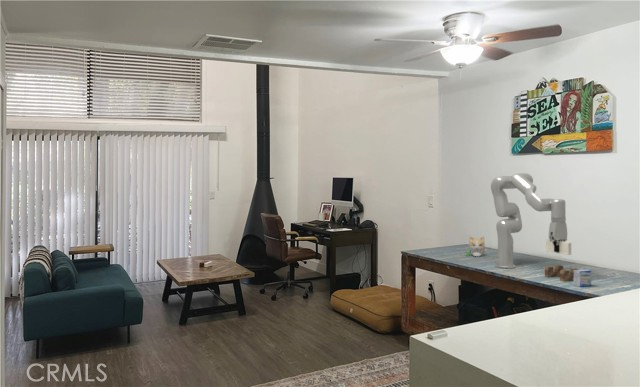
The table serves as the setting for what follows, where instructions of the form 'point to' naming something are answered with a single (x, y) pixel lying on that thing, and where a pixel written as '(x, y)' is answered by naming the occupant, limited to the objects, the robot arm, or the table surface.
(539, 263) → the table surface
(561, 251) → the cream rectangular block
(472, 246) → the kitten
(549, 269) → the walnut rail
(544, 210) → the robot arm
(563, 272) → the walnut rail
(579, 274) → the medicine box
